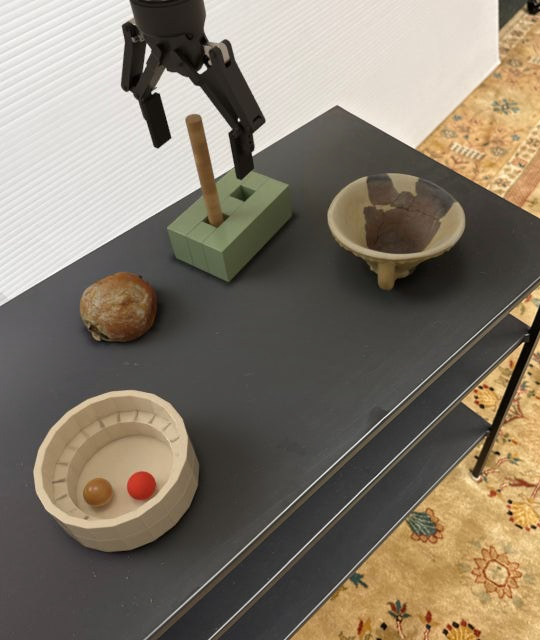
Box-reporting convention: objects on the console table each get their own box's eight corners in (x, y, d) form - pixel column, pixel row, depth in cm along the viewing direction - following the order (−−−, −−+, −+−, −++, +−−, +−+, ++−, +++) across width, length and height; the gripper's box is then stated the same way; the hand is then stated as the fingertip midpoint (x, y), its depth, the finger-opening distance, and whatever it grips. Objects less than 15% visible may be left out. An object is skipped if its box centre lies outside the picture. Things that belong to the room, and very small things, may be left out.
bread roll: (87, 341, 90) (55, 327, 82) (111, 272, 92) (82, 252, 84) (151, 356, 87) (124, 343, 80) (174, 285, 90) (150, 266, 82)
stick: (213, 251, 95) (181, 120, 78) (221, 242, 96) (192, 111, 79) (223, 255, 94) (194, 124, 77) (232, 247, 95) (204, 116, 78)
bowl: (448, 319, 85) (457, 268, 77) (316, 296, 88) (312, 245, 81) (465, 229, 95) (474, 177, 88) (346, 212, 99) (345, 161, 92)
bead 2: (125, 496, 70) (117, 483, 68) (144, 474, 71) (136, 461, 69) (145, 509, 69) (138, 497, 66) (164, 487, 70) (157, 474, 68)
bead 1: (82, 502, 70) (73, 490, 67) (102, 480, 71) (93, 468, 69) (102, 516, 69) (93, 504, 66) (122, 493, 70) (113, 481, 68)
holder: (175, 258, 94) (166, 227, 90) (241, 195, 103) (236, 164, 98) (228, 282, 91) (221, 251, 86) (292, 215, 99) (289, 184, 94)
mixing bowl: (28, 506, 70) (1, 477, 65) (127, 402, 79) (110, 368, 73) (133, 583, 65) (113, 558, 59) (228, 461, 73) (217, 430, 67)
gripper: (284, -6, 63) (300, 170, 80) (102, -49, 73) (149, 116, 89) (238, 27, 60) (265, 205, 76) (52, -23, 69) (111, 145, 85)
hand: (202, 157), depth 82 cm, fingers open, 13 cm apart
